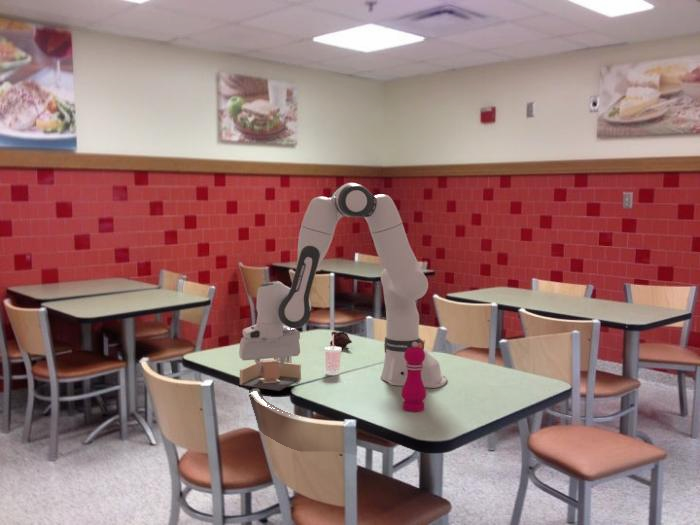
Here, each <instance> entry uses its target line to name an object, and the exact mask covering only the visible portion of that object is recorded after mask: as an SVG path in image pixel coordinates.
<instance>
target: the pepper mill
mask: <svg viewBox="0 0 700 525" xmlns="http://www.w3.org/2000/svg"><path fill="white" fill-rule="evenodd" d="M412 346H413V347H409V348H408V349H407V350H406V351H405V354H404V358H405V360H406V361H407V363H406V368H407V371H408V373H407V379H406V382H405V384H404V386H402V389H401V397H402V400H404V401H403V402H402V409H403V410H404V411H406V412H410V413H412V412H413V413H418V412H423V411H424V410H425V402H424V401H425V399H426V397H427V389H426V387H424V385H423V382H422V379H421V370H422V369H423V363H422V362H423V361H424V359H425V353H424V351H423V349H421V348H419V347H417V346H418V343H417V342H413V343H412Z"/></svg>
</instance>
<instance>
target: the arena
mask: <svg viewBox="0 0 700 525" xmlns="http://www.w3.org/2000/svg"><path fill="white" fill-rule="evenodd" d="M264 360H265V359H260V362H258V363H259V364H260V366H261V361H264ZM279 363H280V362H279ZM301 379H302V364H300V363H293V362H291V363H285V362H284V364H283V365H282V370H280V378H272V379H264V378H263V377H262V376H261V372H258V366H257V364H256V363H255V362H254V363H252V364H249V365H247V366H245V367H243V368H241V369H239V385H240V386H243V387H250V388H257V389H262V390H264V389H265V390H271V391H277V392H280V391H282V390H284V389H285V388H287V387H289V386H291V385H292V383H293V384H294V383H296V382H297V381H298V382H299V381H300V380H301ZM295 381H296V382H295ZM290 384H291V385H290ZM288 385H289V386H288Z"/></svg>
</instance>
